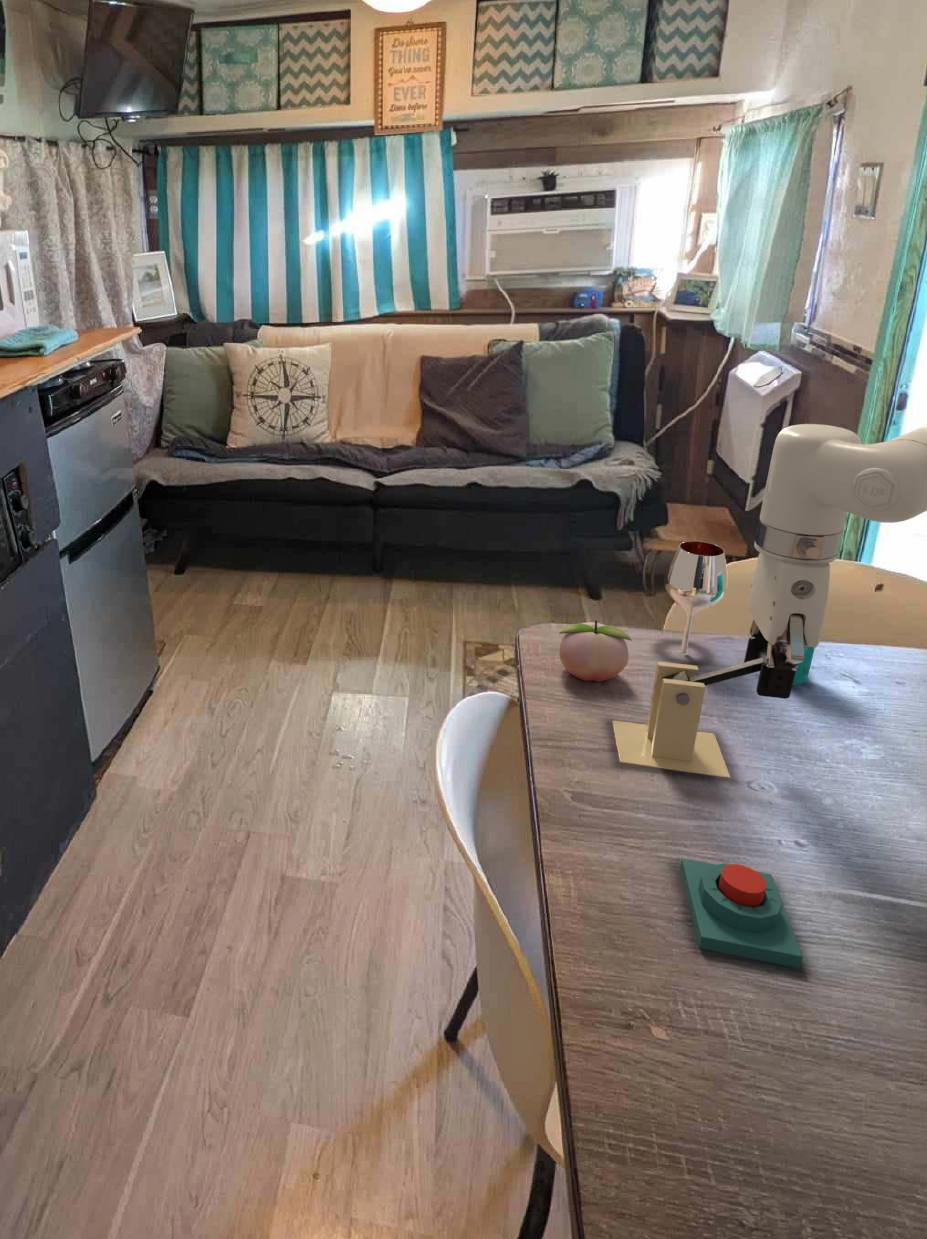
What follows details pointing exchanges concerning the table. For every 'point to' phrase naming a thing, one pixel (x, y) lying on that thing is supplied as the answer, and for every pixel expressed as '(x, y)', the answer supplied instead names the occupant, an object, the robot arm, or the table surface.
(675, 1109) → the table surface
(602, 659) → the decorative fruit
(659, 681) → the bracket
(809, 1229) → the table surface
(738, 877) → the button
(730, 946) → the control block
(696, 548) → the wineglass
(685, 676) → the lever
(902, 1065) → the table surface
